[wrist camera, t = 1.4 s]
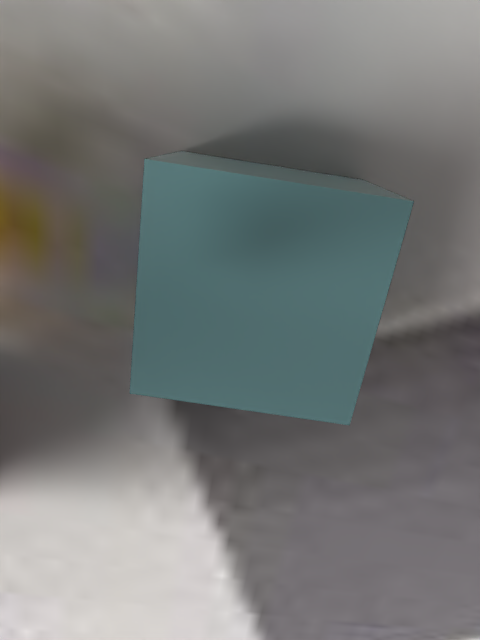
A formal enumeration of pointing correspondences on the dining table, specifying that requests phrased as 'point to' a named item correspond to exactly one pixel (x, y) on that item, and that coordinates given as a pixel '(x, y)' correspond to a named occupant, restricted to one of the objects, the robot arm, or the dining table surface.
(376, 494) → the dining table surface
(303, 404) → the teal cube
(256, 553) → the dining table surface
